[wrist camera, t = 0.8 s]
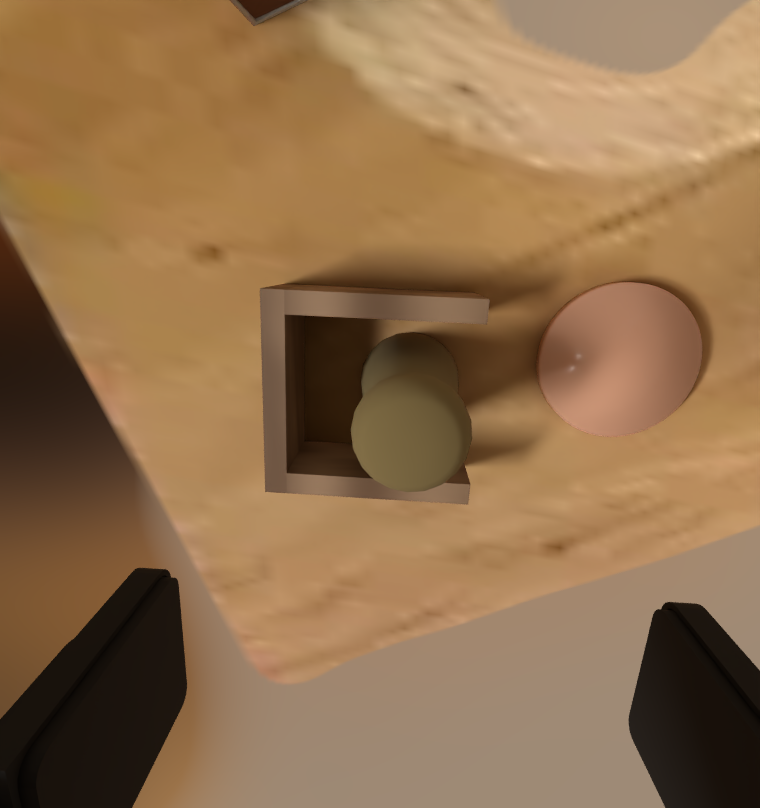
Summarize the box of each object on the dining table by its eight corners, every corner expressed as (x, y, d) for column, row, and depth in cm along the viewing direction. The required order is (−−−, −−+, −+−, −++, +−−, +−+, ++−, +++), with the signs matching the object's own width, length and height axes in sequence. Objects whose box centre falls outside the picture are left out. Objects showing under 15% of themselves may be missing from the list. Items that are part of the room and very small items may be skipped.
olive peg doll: (468, 415, 30) (501, 497, 20) (374, 437, 31) (359, 527, 21) (446, 321, 29) (470, 356, 18) (349, 346, 30) (317, 394, 19)
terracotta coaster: (708, 285, 27) (719, 286, 27) (674, 435, 30) (683, 440, 29) (547, 278, 28) (552, 278, 27) (527, 426, 30) (531, 432, 29)
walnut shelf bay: (475, 292, 28) (489, 299, 23) (458, 467, 31) (468, 504, 27) (284, 283, 29) (259, 288, 24) (286, 456, 32) (265, 491, 27)
